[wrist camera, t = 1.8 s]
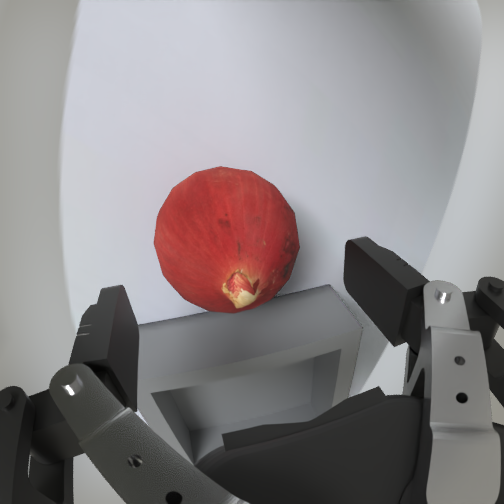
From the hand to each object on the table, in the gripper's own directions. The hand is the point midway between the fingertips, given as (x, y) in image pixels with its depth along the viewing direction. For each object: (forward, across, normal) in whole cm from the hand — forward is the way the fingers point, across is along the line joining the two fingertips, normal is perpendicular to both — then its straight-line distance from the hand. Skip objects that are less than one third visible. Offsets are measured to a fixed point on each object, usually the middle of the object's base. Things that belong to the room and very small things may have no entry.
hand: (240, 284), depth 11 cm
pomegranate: (+7, 0, -1) cm, 7 cm away
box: (+7, 0, +12) cm, 14 cm away
